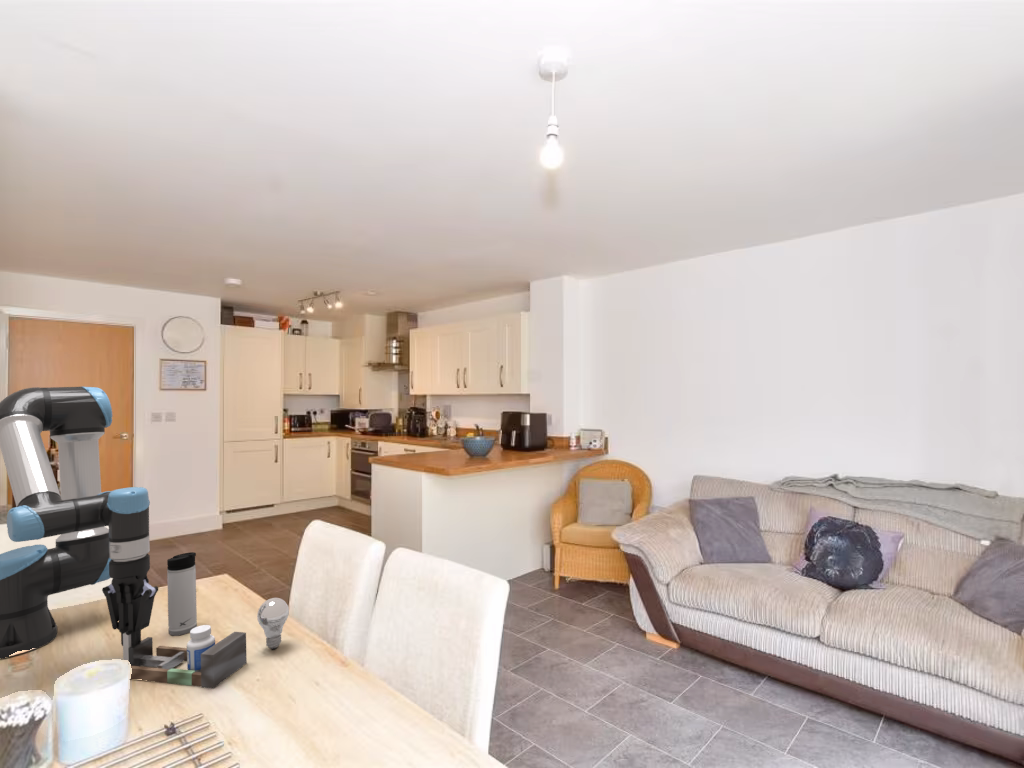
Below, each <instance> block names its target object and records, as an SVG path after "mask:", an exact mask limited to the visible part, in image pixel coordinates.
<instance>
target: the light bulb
mask: <svg viewBox="0 0 1024 768" xmlns="http://www.w3.org/2000/svg"><path fill="white" fill-rule="evenodd" d="M289 613H290V608H289V605H288V604H287V602H286V601H285V600H284V599H283V598H279V597H271V598H269V599H267V600H265V601H264V602H263V603H262V604H261V605H260V606H259V608H258V610H257V614H256V618H257V622H258V624H259V626H260V627H261V628H262V630H263V631H264V635H265V637H266V639H265V640H266V641H265V644H266V647H267V648H269V649H271V650H276V649H277V648H278V647H279V646H280V644H281V643H282V633H283V627H284V625H285V624H286V621H287V619H288V617H289Z"/></svg>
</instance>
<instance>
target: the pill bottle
mask: <svg viewBox="0 0 1024 768" xmlns="http://www.w3.org/2000/svg"><path fill="white" fill-rule="evenodd" d="M189 638H190V640H188V641H187V643H186V648H187V661H186V663H187V665H186V666H187V668H186V670H194V671H196V672H201V654H202V653H203V652H205V651H206V650H208V649H209V648H211V647H212V646H214V645H215V644H216V637H215V636H214V635H212V627H211V625H210V624H203V625H202V624H201V625H197V627H195V628H193V629H192V630H191V631H190V633H189Z"/></svg>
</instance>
